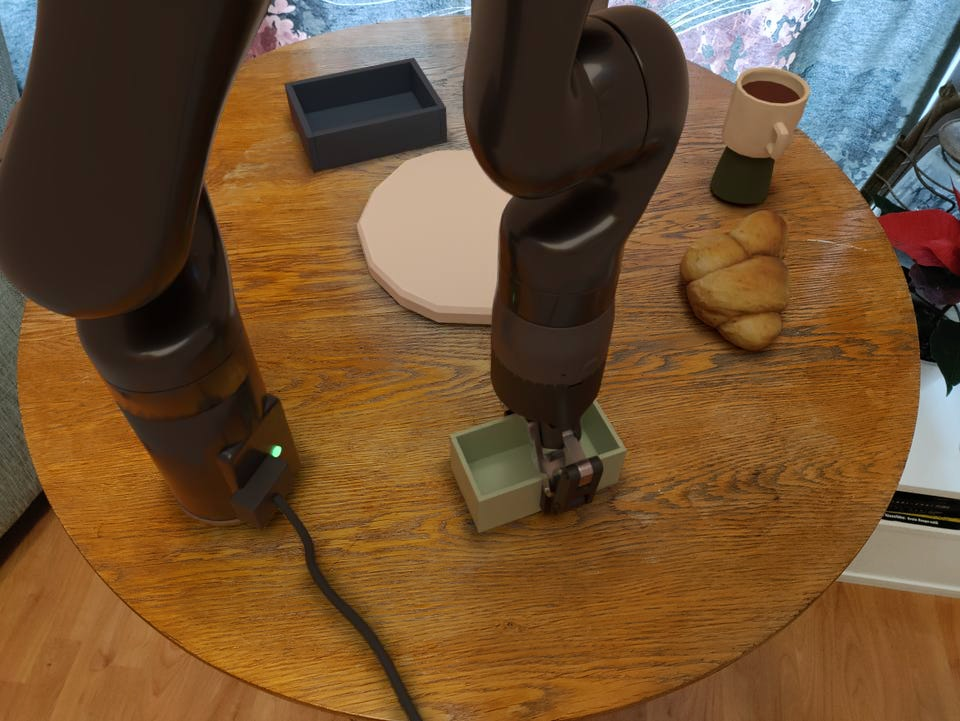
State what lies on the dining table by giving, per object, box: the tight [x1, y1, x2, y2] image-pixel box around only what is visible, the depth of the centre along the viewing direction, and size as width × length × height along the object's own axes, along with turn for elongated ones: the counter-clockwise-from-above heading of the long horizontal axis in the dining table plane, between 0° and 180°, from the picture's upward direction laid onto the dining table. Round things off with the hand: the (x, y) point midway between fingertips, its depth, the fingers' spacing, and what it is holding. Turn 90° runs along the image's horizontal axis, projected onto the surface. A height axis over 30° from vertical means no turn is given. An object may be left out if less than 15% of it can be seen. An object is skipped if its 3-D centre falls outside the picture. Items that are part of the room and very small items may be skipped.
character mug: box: [709, 66, 811, 205], centre depth 80 cm, size 11×7×13 cm, turn 6°
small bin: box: [448, 398, 628, 534], centre depth 60 cm, size 12×6×5 cm, turn 111°
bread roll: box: [678, 209, 792, 351], centre depth 70 cm, size 13×10×8 cm
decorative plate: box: [355, 149, 513, 325], centre depth 78 cm, size 25×4×25 cm
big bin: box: [283, 57, 448, 173], centre depth 90 cm, size 16×12×5 cm
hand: (534, 470), depth 61 cm, fingers open, 6 cm apart
